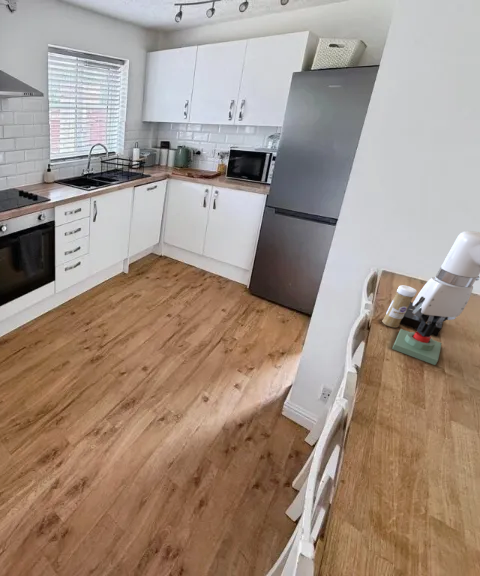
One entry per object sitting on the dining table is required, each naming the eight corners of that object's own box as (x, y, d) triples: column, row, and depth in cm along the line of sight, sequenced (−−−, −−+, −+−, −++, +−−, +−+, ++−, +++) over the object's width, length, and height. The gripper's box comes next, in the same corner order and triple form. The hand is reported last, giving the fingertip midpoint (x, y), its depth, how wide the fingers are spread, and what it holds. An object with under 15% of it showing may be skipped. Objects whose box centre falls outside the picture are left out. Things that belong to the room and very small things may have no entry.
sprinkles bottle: (390, 328, 118) (408, 291, 112) (378, 320, 122) (395, 284, 116) (402, 327, 119) (421, 291, 113) (389, 320, 123) (407, 284, 117)
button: (427, 345, 105) (430, 340, 105) (412, 339, 108) (414, 334, 107) (428, 339, 108) (431, 335, 107) (413, 334, 110) (416, 329, 109)
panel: (436, 336, 115) (441, 328, 114) (398, 323, 121) (402, 315, 120) (440, 320, 124) (445, 312, 123) (404, 308, 130) (408, 300, 129)
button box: (435, 365, 102) (441, 355, 101) (392, 349, 108) (397, 339, 107) (438, 347, 110) (444, 337, 108) (398, 333, 116) (403, 323, 114)
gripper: (474, 274, 101) (441, 329, 110) (416, 269, 102) (388, 323, 111) (497, 287, 94) (459, 344, 103) (435, 281, 95) (403, 338, 104)
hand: (422, 333), depth 107 cm, fingers closed
